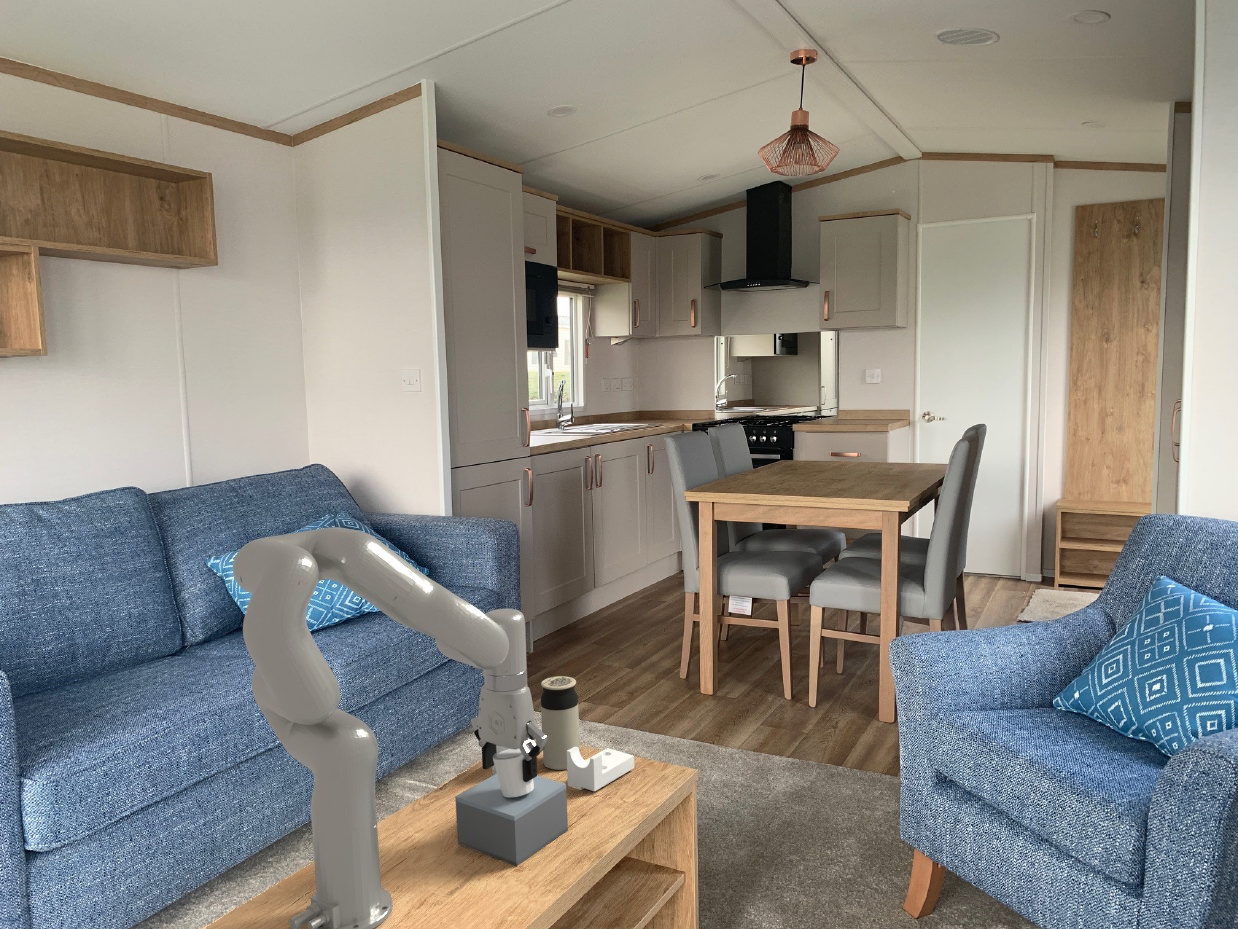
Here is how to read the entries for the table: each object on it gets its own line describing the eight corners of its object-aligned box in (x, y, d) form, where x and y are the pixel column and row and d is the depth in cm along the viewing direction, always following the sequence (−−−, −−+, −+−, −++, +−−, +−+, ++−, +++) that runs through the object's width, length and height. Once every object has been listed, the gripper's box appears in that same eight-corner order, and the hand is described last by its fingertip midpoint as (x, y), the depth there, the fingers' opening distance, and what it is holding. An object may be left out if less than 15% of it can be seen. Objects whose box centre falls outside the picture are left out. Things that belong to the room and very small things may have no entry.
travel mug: (587, 759, 189) (584, 678, 187) (567, 774, 182) (564, 690, 181) (556, 752, 193) (553, 673, 191) (536, 767, 186) (532, 685, 184)
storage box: (516, 866, 147) (514, 821, 147) (457, 844, 155) (455, 800, 155) (568, 830, 159) (566, 788, 158) (510, 811, 167) (508, 771, 166)
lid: (514, 821, 147) (514, 816, 146) (455, 801, 155) (455, 796, 154) (566, 788, 158) (566, 784, 158) (508, 771, 166) (508, 767, 166)
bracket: (594, 796, 172) (593, 759, 172) (568, 786, 177) (566, 750, 176) (634, 772, 183) (633, 737, 182) (608, 764, 187) (607, 729, 186)
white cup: (540, 781, 158) (534, 743, 158) (533, 795, 151) (526, 755, 151) (504, 786, 158) (497, 748, 159) (495, 801, 152) (488, 761, 152)
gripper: (455, 677, 156) (460, 769, 158) (529, 694, 146) (532, 792, 148) (485, 666, 162) (488, 755, 164) (557, 681, 152) (560, 776, 154)
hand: (509, 772), depth 156 cm, fingers open, 9 cm apart
